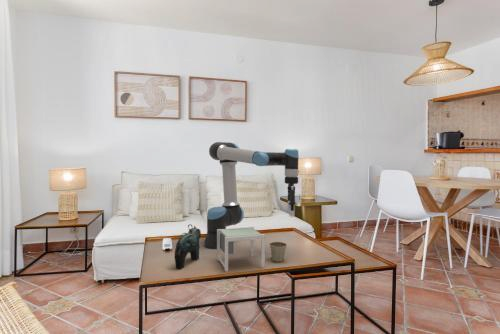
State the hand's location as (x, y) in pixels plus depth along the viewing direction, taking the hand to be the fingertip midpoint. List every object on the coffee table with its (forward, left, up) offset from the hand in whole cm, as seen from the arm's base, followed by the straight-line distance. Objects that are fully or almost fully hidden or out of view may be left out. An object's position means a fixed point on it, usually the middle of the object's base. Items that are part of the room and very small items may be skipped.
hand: (290, 214), depth 178 cm
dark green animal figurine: (-41, -39, -24) cm, 61 cm away
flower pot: (-3, -11, -24) cm, 26 cm away
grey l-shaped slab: (-18, -26, -16) cm, 35 cm away
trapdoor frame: (-18, -26, -23) cm, 39 cm away
